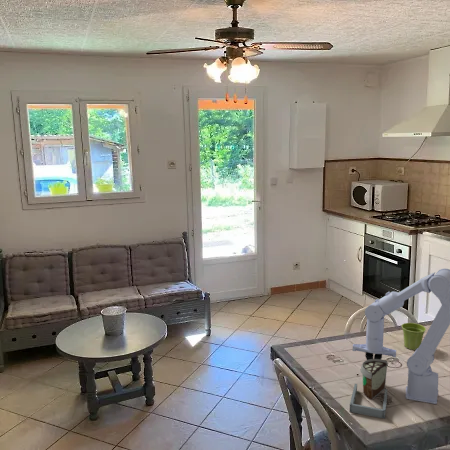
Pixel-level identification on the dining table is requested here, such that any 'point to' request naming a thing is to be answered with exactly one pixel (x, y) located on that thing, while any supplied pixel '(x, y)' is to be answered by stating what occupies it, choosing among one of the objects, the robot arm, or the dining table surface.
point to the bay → (367, 410)
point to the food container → (374, 377)
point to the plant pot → (413, 335)
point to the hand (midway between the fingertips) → (373, 372)
